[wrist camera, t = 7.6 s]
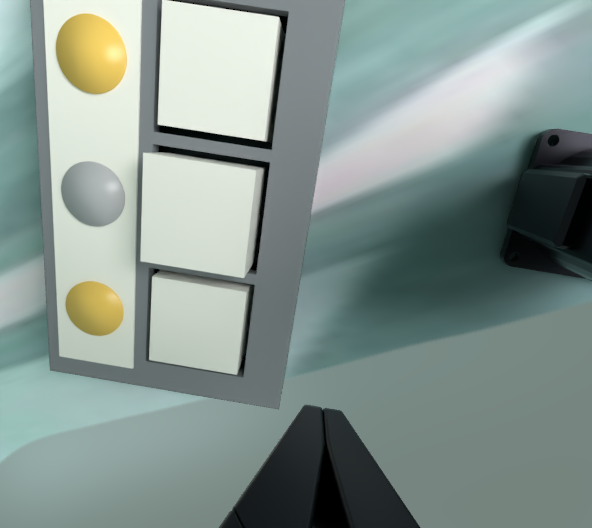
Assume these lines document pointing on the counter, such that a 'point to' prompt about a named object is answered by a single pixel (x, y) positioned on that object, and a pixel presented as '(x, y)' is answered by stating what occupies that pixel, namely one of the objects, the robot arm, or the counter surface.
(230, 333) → the button
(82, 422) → the counter surface
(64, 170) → the board
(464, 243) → the counter surface
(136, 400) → the counter surface
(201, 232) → the button
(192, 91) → the button
